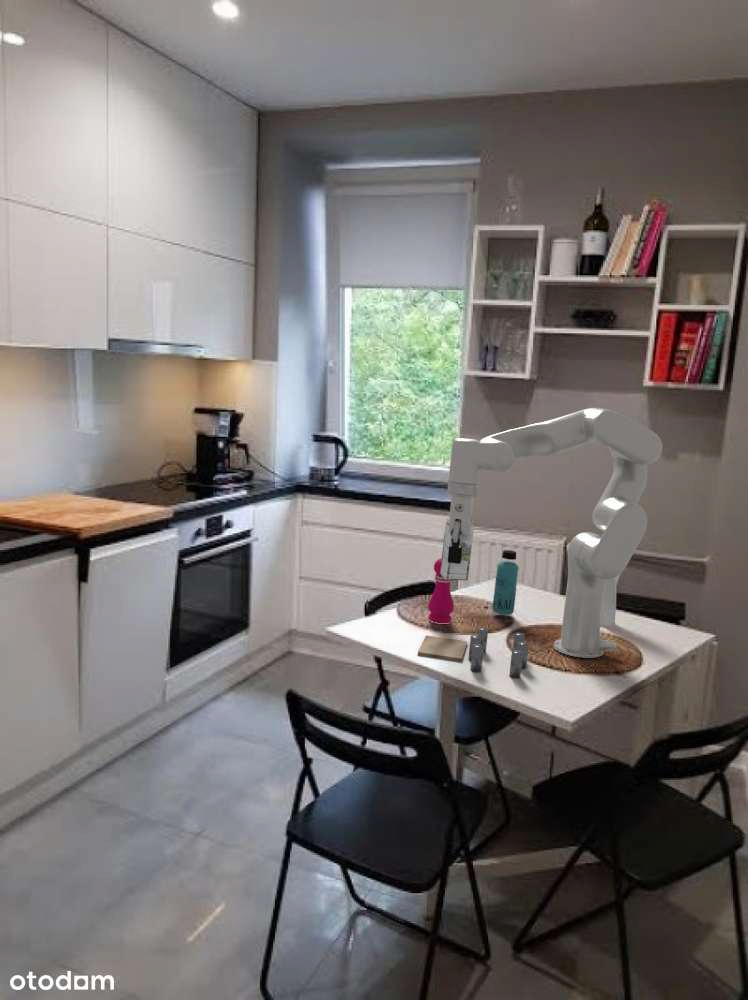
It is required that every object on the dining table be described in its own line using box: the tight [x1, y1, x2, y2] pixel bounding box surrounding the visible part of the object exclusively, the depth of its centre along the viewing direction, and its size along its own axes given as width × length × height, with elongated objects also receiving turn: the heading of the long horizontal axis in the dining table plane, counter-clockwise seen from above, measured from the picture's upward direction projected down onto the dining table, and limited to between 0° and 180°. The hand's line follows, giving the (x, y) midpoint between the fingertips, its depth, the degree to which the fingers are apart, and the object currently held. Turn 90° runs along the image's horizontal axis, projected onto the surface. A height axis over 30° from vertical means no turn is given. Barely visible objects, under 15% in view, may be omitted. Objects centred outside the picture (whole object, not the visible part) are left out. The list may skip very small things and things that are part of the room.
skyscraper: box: [600, 534, 622, 628], centre depth 222 cm, size 8×8×28 cm
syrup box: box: [440, 518, 475, 581], centre depth 188 cm, size 6×6×14 cm
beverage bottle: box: [491, 549, 520, 616], centre depth 222 cm, size 6×7×20 cm
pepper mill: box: [427, 557, 455, 623], centre depth 213 cm, size 7×7×20 cm
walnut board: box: [417, 635, 468, 662], centre depth 192 cm, size 11×13×1 cm
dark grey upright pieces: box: [468, 626, 530, 679], centre depth 185 cm, size 14×16×6 cm
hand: (455, 558), depth 188 cm, fingers closed on syrup box, 7 cm apart
